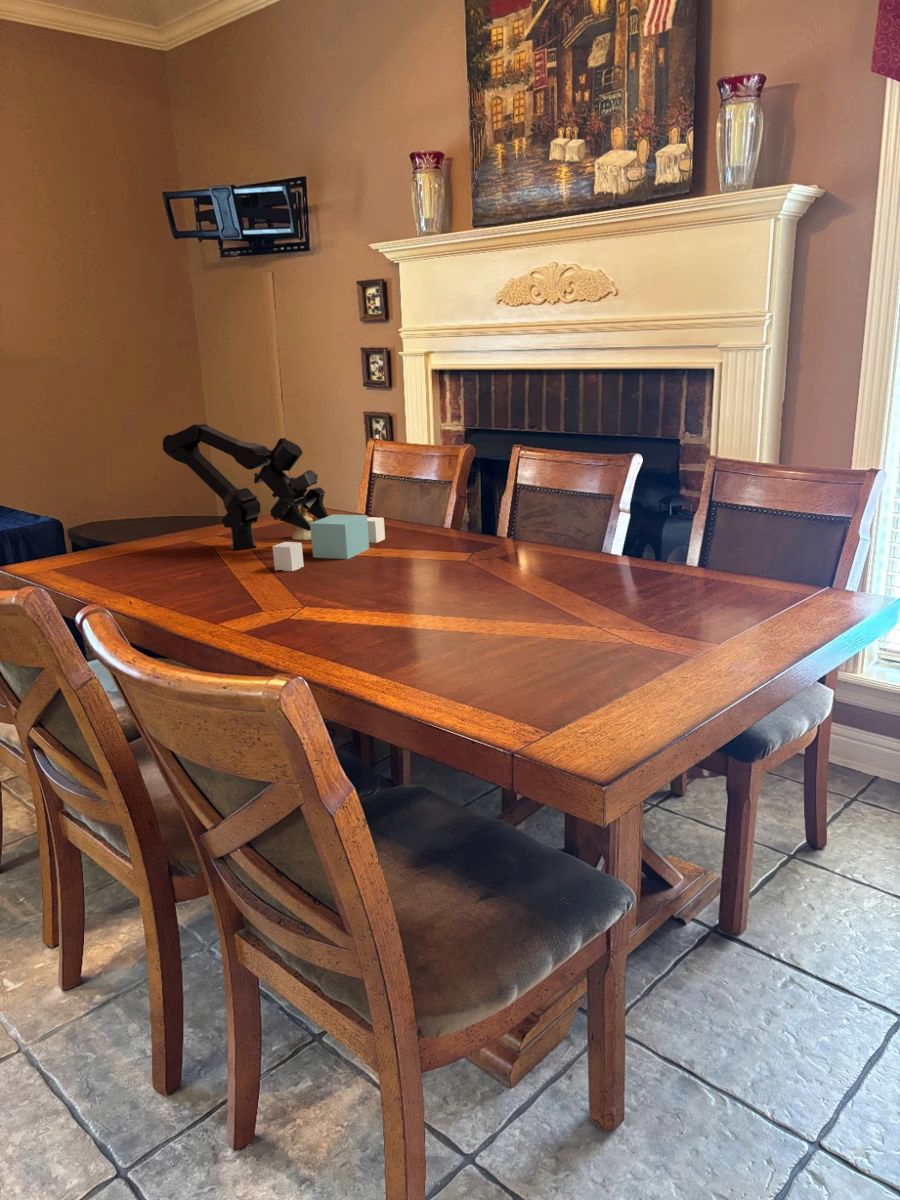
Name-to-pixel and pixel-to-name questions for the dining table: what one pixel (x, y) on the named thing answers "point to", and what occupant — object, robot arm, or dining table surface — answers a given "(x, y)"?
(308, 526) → the robot arm
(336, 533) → the teal block
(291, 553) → the white block
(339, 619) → the dining table surface
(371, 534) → the cream block
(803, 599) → the dining table surface
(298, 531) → the hand bell
